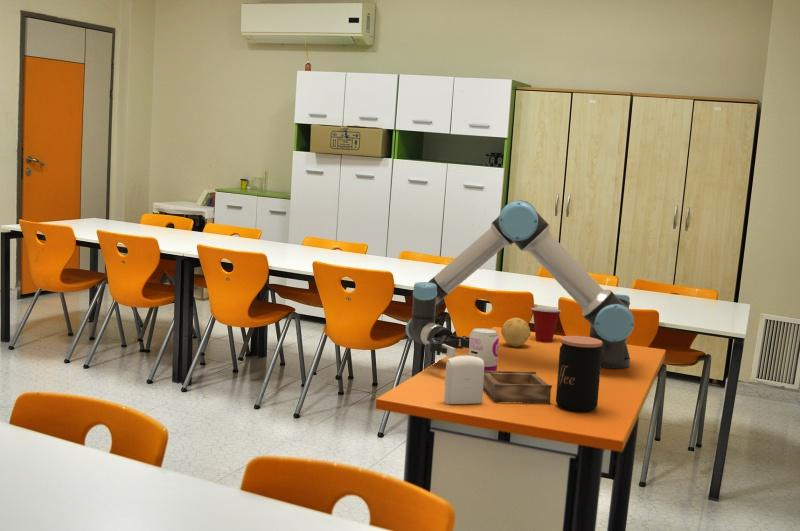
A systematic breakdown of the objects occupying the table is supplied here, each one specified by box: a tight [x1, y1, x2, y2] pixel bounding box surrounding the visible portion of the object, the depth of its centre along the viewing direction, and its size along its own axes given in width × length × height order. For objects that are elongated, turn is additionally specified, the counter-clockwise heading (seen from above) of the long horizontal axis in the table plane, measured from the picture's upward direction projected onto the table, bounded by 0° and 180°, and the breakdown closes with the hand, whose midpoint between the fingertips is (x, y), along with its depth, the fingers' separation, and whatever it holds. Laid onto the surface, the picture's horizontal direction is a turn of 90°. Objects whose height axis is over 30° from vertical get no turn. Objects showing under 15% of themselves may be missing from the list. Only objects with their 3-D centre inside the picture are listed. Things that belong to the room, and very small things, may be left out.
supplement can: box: [468, 327, 500, 371], centre depth 246 cm, size 8×8×15 cm
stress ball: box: [501, 317, 531, 348], centre depth 301 cm, size 10×10×10 cm
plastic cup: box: [530, 307, 562, 343], centre depth 313 cm, size 11×11×12 cm
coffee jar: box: [555, 335, 603, 414], centre depth 224 cm, size 11×11×18 cm
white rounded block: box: [443, 355, 484, 405], centre depth 223 cm, size 10×4×12 cm, turn 105°
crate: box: [483, 370, 553, 405], centre depth 233 cm, size 15×15×5 cm
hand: (474, 352), depth 249 cm, fingers open, 13 cm apart
